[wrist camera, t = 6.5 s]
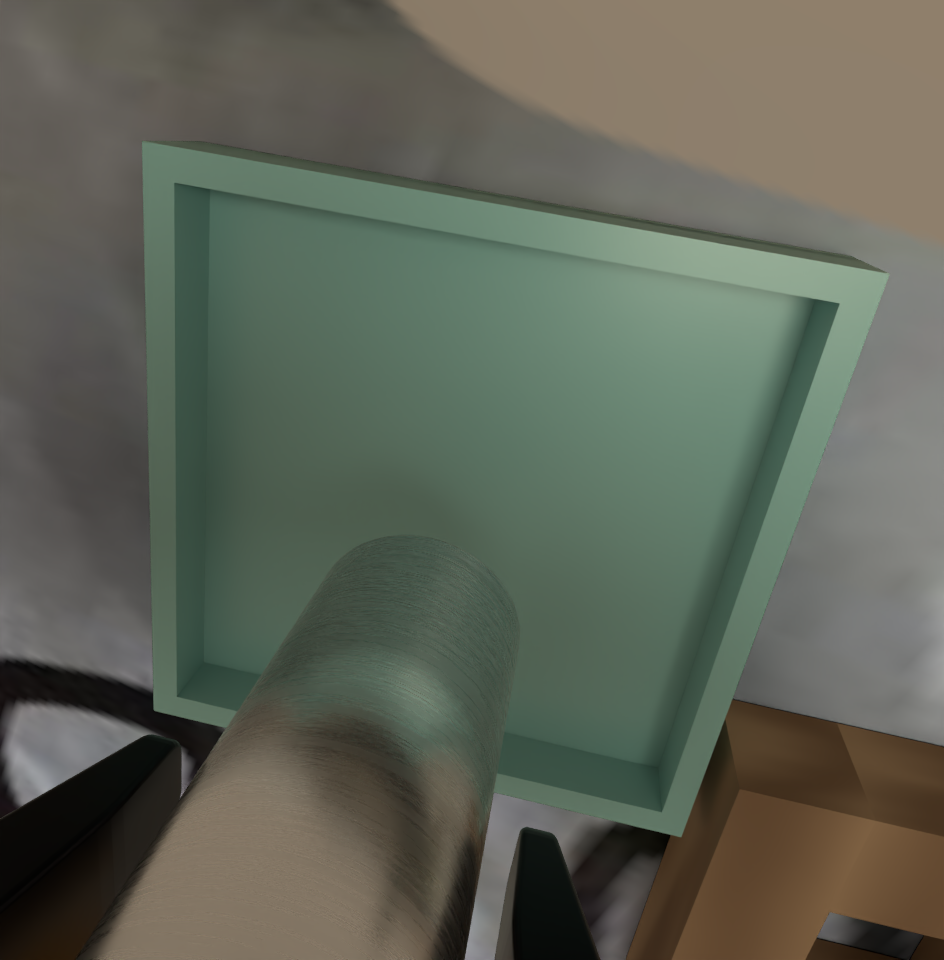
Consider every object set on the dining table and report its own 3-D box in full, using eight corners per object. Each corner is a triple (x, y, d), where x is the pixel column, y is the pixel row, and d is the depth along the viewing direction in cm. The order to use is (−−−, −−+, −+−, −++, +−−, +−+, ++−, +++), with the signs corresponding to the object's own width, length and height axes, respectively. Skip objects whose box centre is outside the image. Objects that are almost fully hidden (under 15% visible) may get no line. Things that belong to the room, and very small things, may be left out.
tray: (851, 256, 15) (889, 274, 13) (673, 768, 20) (681, 837, 18) (200, 141, 16) (141, 140, 14) (196, 657, 21) (153, 710, 19)
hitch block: (1149, 793, 18) (1244, 906, 16) (971, 1048, 22) (1022, 1174, 20) (720, 697, 19) (739, 788, 16) (625, 961, 23) (627, 1069, 20)
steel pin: (603, 524, 12) (592, 1760, 3) (539, 778, 14) (413, 1946, 5) (276, 455, 12) (-661, 1333, 3) (262, 712, 14) (-324, 1675, 5)
